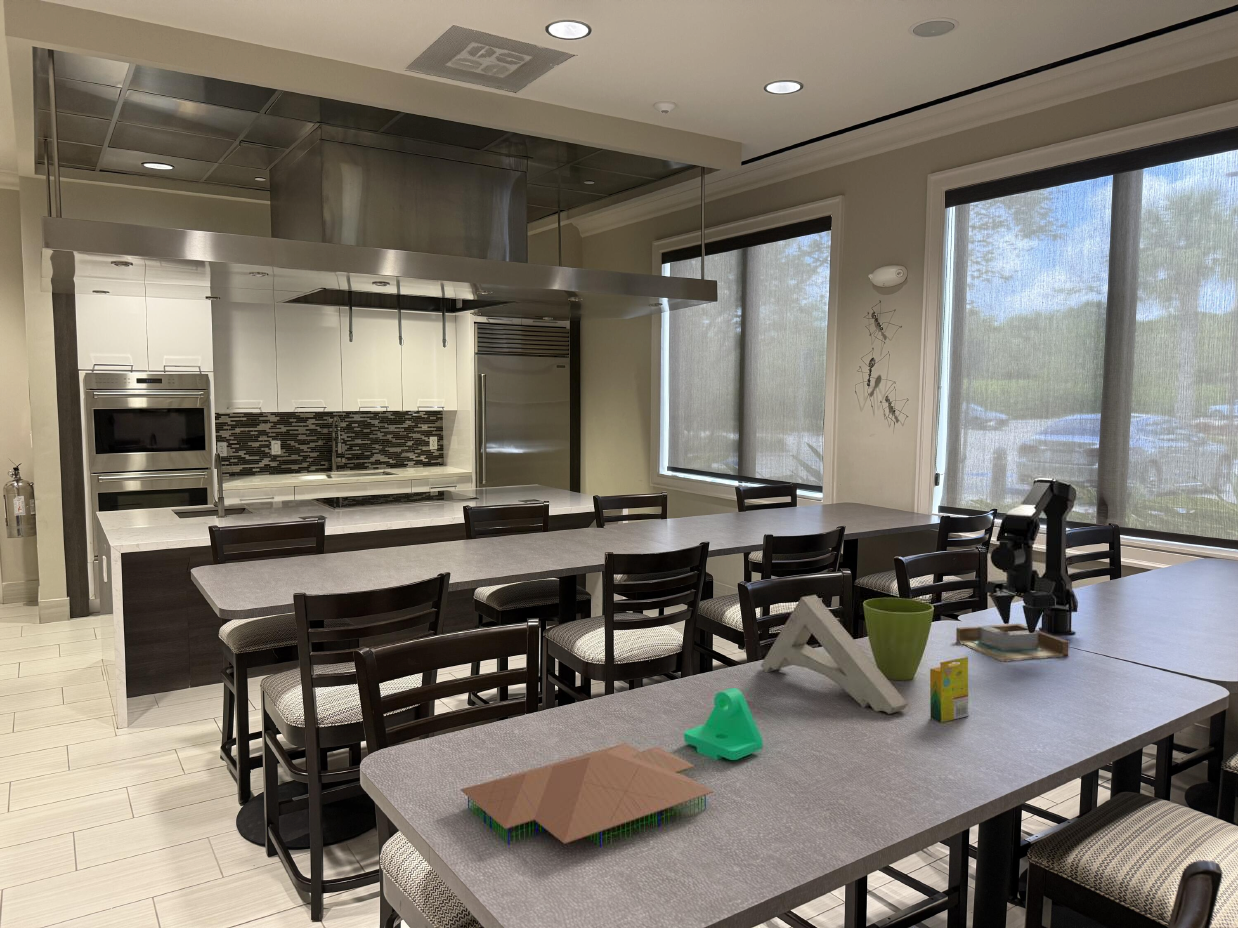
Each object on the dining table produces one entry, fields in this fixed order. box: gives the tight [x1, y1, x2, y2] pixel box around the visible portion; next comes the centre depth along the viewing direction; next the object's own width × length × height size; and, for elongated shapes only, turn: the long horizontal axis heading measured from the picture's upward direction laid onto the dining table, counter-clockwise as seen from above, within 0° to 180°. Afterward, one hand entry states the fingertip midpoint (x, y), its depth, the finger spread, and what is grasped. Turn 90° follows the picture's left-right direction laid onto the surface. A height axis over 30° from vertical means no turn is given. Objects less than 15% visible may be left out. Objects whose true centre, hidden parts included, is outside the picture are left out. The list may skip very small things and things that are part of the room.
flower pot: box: [862, 597, 935, 681], centre depth 187 cm, size 15×15×16 cm
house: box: [460, 742, 714, 848], centre depth 126 cm, size 23×33×8 cm
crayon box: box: [929, 656, 969, 724], centre depth 161 cm, size 7×3×12 cm, turn 115°
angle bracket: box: [978, 625, 1038, 652], centre depth 207 cm, size 10×9×4 cm
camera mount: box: [683, 687, 764, 761], centre depth 147 cm, size 12×8×10 cm, turn 42°
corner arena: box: [955, 623, 1070, 662], centre depth 208 cm, size 18×18×4 cm
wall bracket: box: [760, 594, 909, 715], centre depth 178 cm, size 22×4×30 cm
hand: (1018, 628), depth 204 cm, fingers open, 9 cm apart
